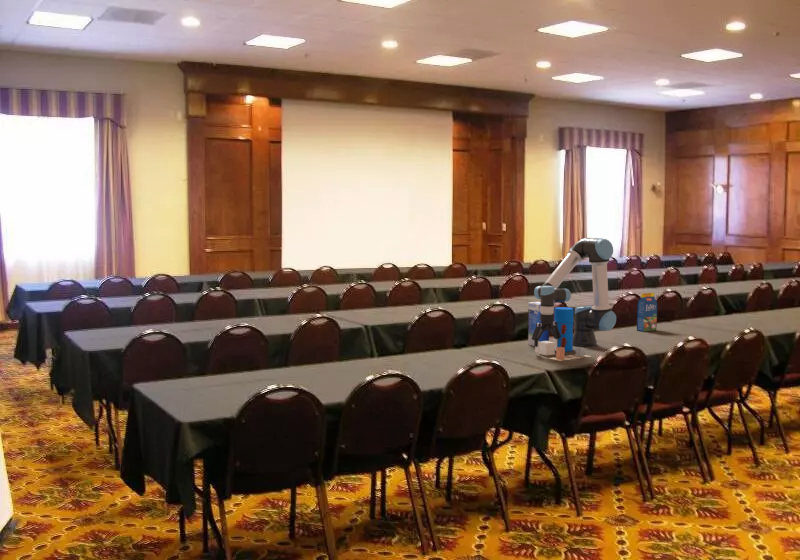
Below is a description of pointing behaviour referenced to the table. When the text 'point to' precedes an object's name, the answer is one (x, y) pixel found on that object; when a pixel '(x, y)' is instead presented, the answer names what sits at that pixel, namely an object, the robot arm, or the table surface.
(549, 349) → the white tilted cube
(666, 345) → the table surface
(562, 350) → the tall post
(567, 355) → the board
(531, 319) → the string lights box
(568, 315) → the thermos
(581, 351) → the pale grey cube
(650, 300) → the blue food package
